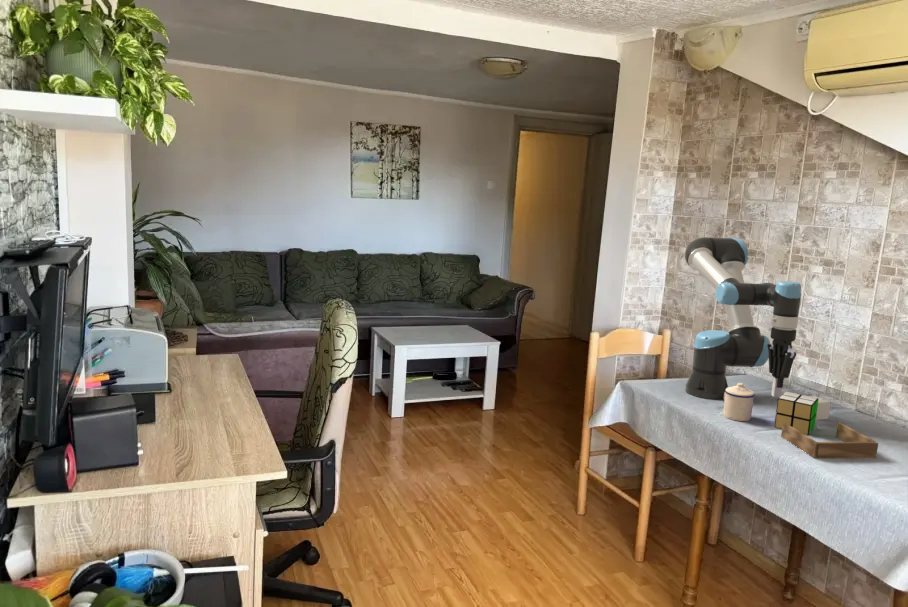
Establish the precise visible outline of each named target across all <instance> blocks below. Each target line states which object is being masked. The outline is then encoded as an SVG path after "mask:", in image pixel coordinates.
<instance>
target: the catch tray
mask: <svg viewBox="0 0 908 607" xmlns="http://www.w3.org/2000/svg"><path fill="white" fill-rule="evenodd" d="M780 436H781V438H782V437H783V438H782V439H784V440H785V439H786V440H785V441H787V442H788V441H789V442H788V443H790V442H791V443H792V444H791V443H790V444H791V445H793V444H794V445H795V447H796V446H797V447H798V448H797V447H796V448H797V449H799V448H800V449H801V451H802V450H803V451H804V453H805V452H806V453H805V454H806V455H808V454H809V455H808V456H810V457H811V458H812V459H869V458H870V459H874V458H875V459H876V458H877V457H878V456H877V454H878V447H879V442H877V441H876V440H873V439H872V438H870V437H869V436H866V435H865V434H863V433H860V432H859V431H857V430H856V429H853V428H851V427H849V426H848V425H846V424H844V423H842V422H837V426H836V433H835V437H836V438H837V439H839V440H841V441H816V440H814V439H813V438H811V437H809V435H805V434H803V433H801V432H800V431H798V430H797V429H795V428H793V427H792V426H790V425H788V424H787V423H783V426H782V429H781V435H780ZM794 445H793V446H794ZM800 449H799V450H800ZM803 451H802V452H803Z"/></svg>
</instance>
